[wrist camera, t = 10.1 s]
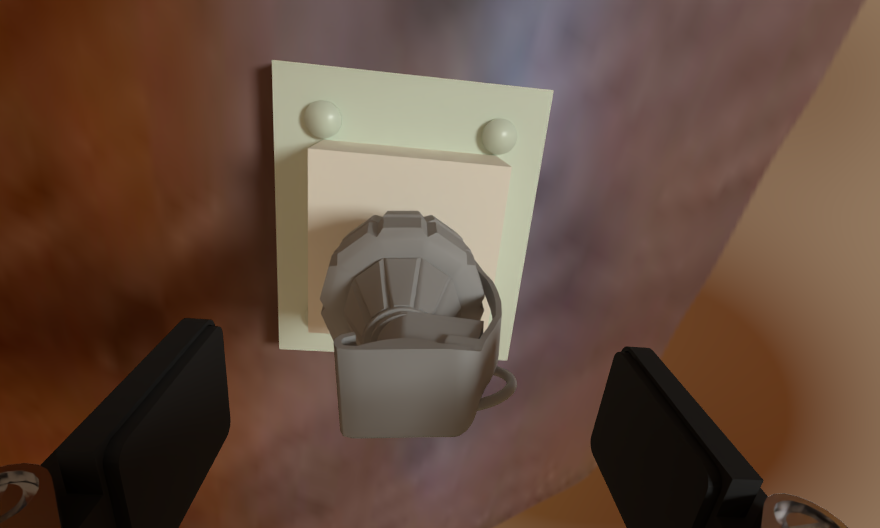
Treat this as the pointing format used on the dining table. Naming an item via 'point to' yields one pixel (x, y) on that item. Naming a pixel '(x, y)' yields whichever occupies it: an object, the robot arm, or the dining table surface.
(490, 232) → the cream brick
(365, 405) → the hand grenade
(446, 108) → the base plate
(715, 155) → the dining table surface
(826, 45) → the dining table surface
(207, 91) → the dining table surface
